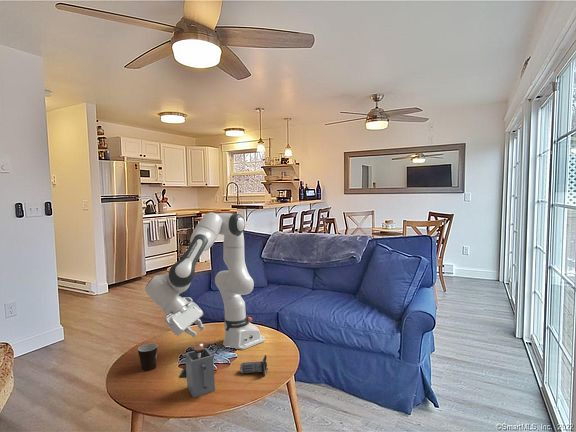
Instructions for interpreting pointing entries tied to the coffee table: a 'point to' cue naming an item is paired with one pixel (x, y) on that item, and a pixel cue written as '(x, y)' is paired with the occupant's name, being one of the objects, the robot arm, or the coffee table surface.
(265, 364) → the beverage can
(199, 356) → the ball-topped press plunger
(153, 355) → the coffee mug
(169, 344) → the coffee table surface
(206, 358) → the box
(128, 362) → the coffee table surface
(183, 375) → the phone
